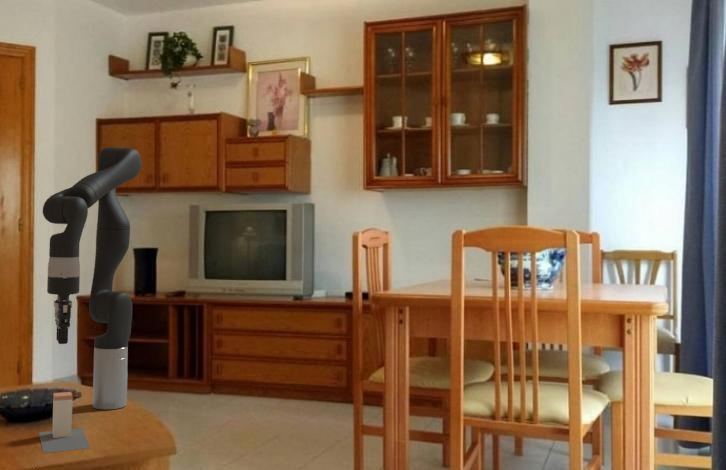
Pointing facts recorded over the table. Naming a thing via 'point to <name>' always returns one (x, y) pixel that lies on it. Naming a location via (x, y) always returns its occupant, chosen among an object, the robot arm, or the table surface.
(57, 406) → the cream block
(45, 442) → the slate mat
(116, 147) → the robot arm
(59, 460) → the table surface
